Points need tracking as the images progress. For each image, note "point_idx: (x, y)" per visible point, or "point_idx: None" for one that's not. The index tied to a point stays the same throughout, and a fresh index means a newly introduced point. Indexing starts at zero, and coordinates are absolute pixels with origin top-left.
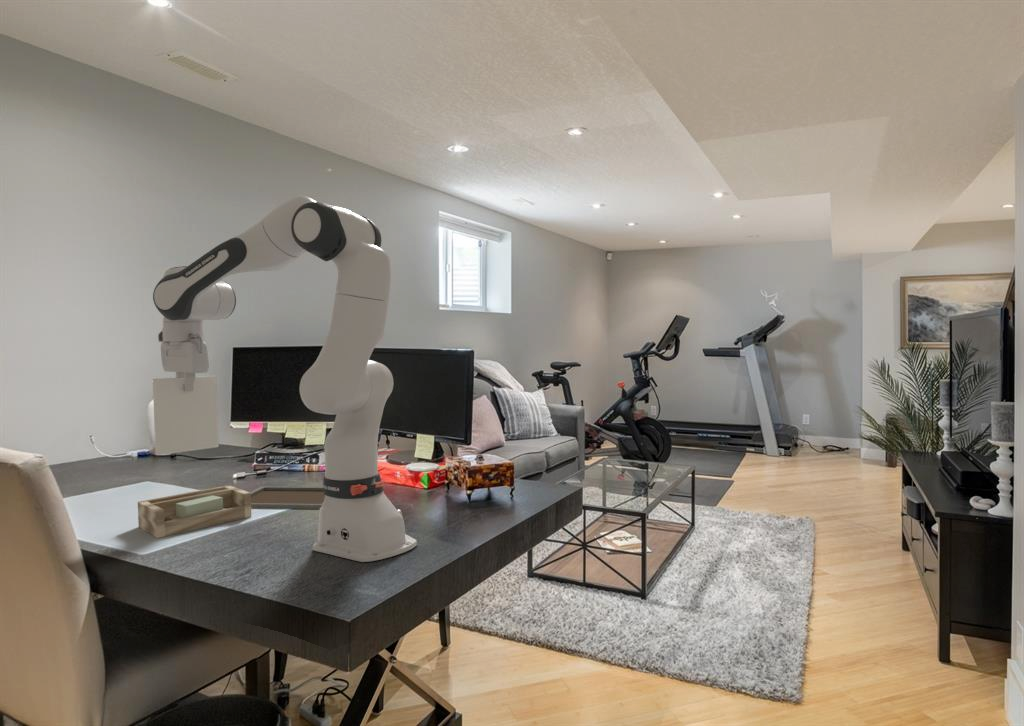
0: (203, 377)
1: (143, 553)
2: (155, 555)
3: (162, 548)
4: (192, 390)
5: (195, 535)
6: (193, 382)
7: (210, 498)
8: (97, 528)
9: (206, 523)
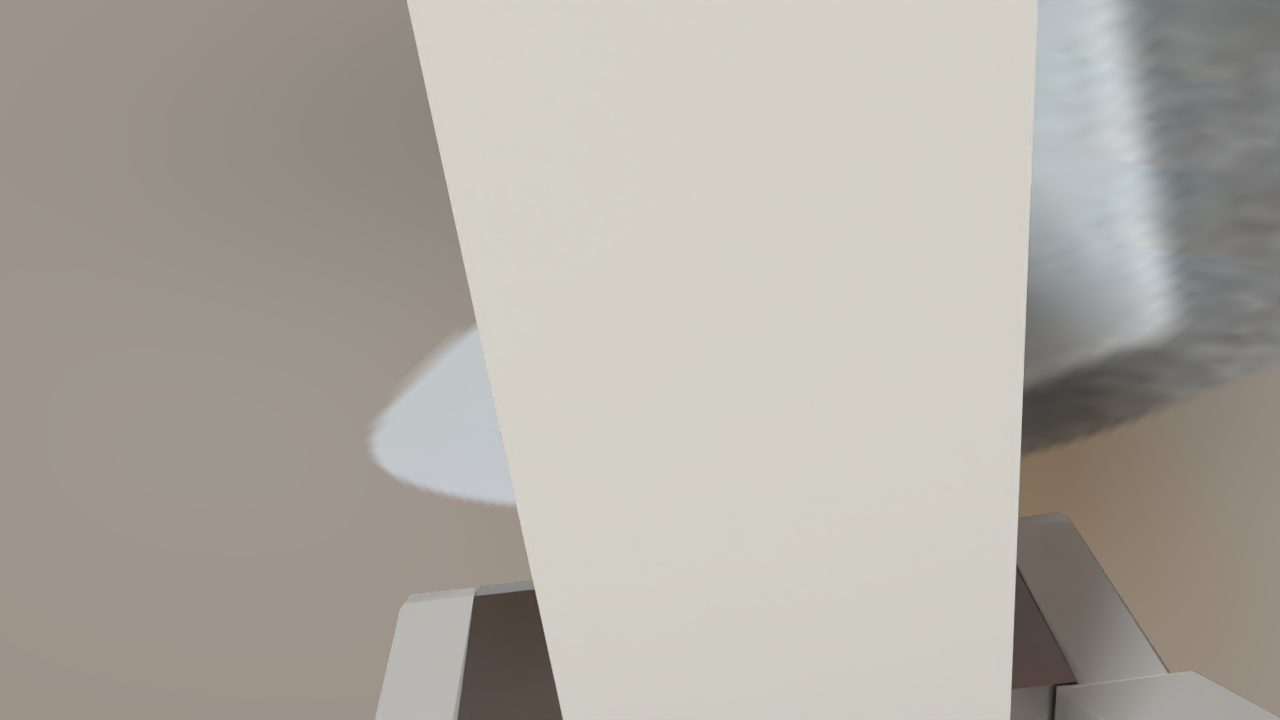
0: (993, 328)
1: (1156, 326)
2: (1245, 286)
3: (1157, 238)
4: (1052, 527)
5: (1065, 33)
6: (1261, 717)
7: None
8: (446, 449)
9: None
